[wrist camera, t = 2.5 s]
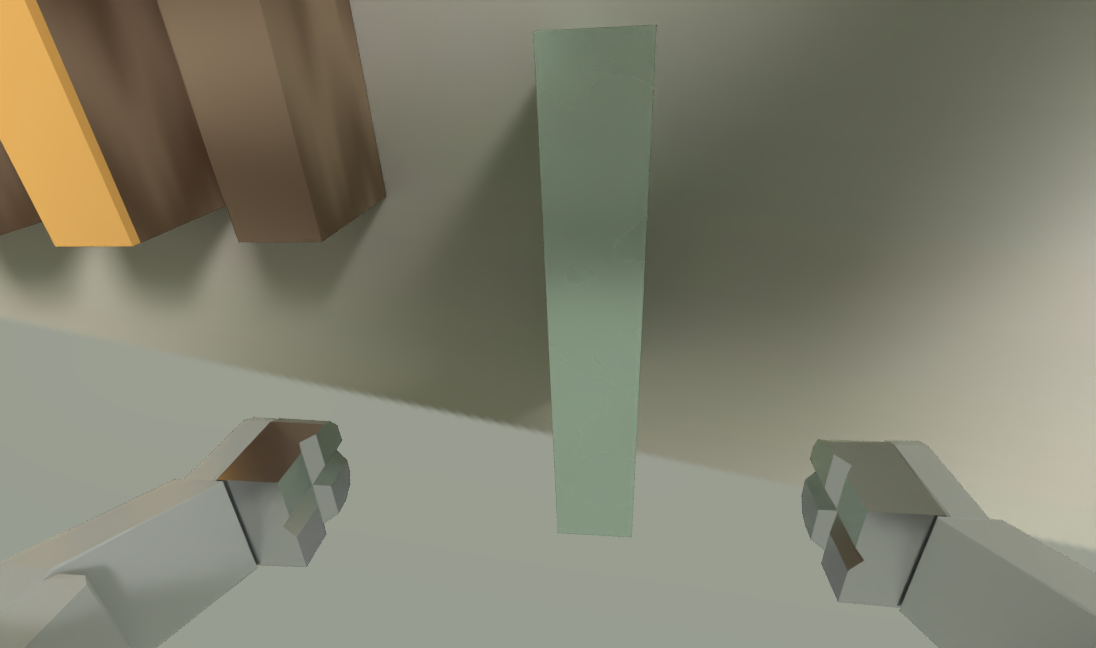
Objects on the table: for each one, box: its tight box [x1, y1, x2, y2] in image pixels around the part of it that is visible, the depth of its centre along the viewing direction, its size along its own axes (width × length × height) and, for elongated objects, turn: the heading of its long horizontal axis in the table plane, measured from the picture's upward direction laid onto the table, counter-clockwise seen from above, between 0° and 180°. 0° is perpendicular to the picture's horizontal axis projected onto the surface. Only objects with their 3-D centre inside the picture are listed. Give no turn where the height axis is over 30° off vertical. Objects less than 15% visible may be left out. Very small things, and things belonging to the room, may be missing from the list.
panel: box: [533, 25, 657, 537], centre depth 15 cm, size 12×2×9 cm, turn 2°
